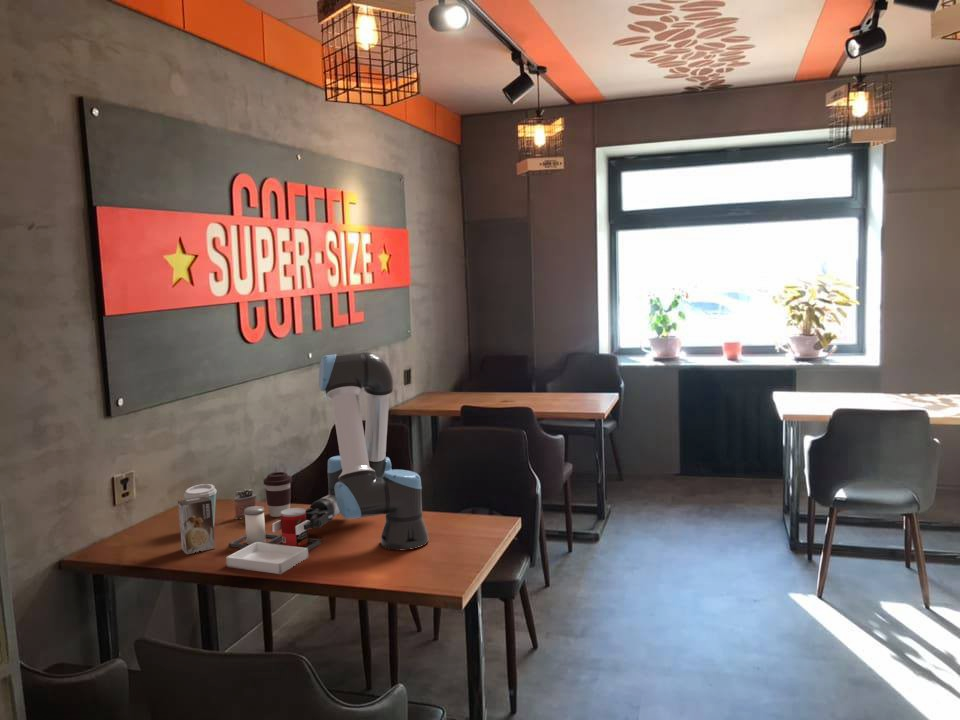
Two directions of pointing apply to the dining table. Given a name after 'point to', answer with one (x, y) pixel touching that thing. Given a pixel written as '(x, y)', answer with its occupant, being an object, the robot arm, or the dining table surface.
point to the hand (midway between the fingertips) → (284, 529)
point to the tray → (267, 557)
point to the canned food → (293, 527)
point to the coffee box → (196, 524)
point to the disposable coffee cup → (202, 494)
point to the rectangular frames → (276, 538)
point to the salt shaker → (255, 524)
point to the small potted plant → (244, 502)
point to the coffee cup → (278, 492)
